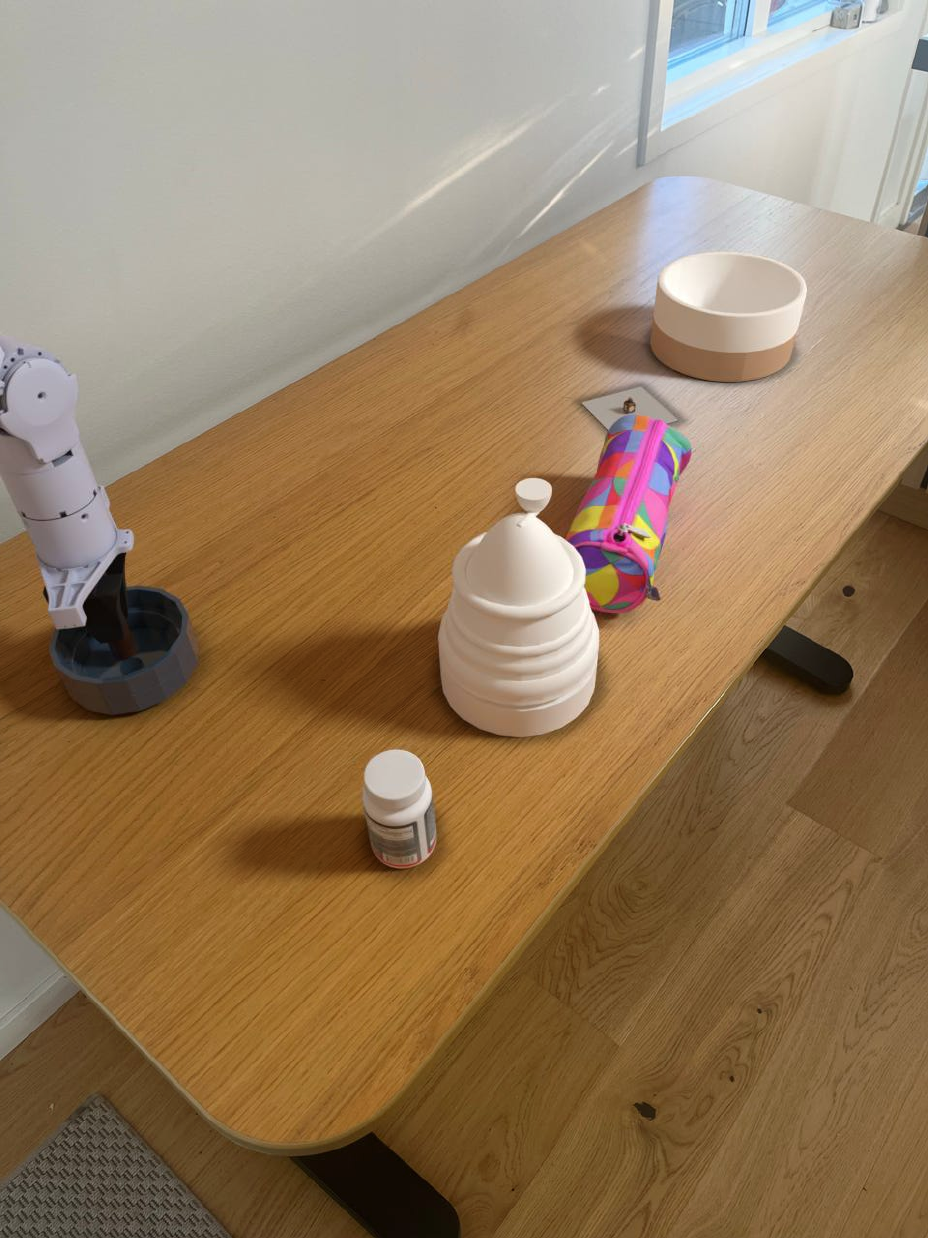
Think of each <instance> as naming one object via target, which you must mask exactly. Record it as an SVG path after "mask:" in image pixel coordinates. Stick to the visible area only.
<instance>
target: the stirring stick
mask: <svg viewBox="0 0 928 1238" xmlns="http://www.w3.org/2000/svg"><path fill="white" fill-rule="evenodd" d="M105 575H107V574H106V571H105V572H104V574H103V575H102V576H105ZM122 614H123V612H122ZM123 619H124V623H125V638H124V640H123V641H117V642H109V643H108V645H109V647H110V650H111V652H112V654H113V656H114V658H116V659H118V660H127V659H129V658H131V657H133V656H134V655H135V654H136V652H137V646H136V644H135V642H134V639H133V637H132V634H131V632H130V629H129V627H128V625H127V622H126V620H125V617H124V615H123Z"/></svg>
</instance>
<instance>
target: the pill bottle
mask: <svg viewBox="0 0 928 1238" xmlns="http://www.w3.org/2000/svg"><path fill="white" fill-rule="evenodd" d="M363 783H364V784H363V788H362V792H361V801H362V809H363V813H364V817H365V821H366V826H367V831H368V837H369V841H370V846H371V849H372V851H373V852H372V853H374V855H375V857H376V858H377V859H378V860H379V861H380V862H381V863H382V864H384V865H386V866H388V867H390V868H394V869H409V868H413V867H416V866H418V865H420V864H421V863H424V861H426V860H427V859H428V858H429V857H430V856H431V854H432V853H433V852H434V849H435V847H436V844H437V838H438V837H437V826H436V825H437V824H436V817H435V816H436V815H435V805H434V797H433V795H434V794H433V789H432V785H431V782H430V780H429V779H428V777H427V776H426V772H425V767H424V764H423V762H422V761H421V759H420V758H419V757H417V756H416V754H414V753H412V752H410V751H407V750H404V749H387V750H385V751H381V752H379V753H377V754H376V755H375V756H373V757H372V758H371V759H370V760H369V761H368V762H367V764H366V766H365V768H364V771H363Z"/></svg>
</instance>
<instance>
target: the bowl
mask: <svg viewBox="0 0 928 1238" xmlns="http://www.w3.org/2000/svg"><path fill="white" fill-rule="evenodd" d="M807 294H808V289H807V283H806V281H805V279H804V278H803V276H802V275H801V274H800V273H799V272H798V271H796V270H795V269H793V268H792V267H790V266H789V265H787V264H785V263H783V262H780V261H778V260H775V259H773V258H769V257H767V256H762V255H758V254H754V253H748V252H747V253H746V252H739V251H708V252H707V251H706V252H699V253H693V254H689V255H685V256H682V257H680V258H676V259H675V260H673V261H671V262H669V263H667V264H666V265H665V266H664V267H663V268H662V269H661V270H660V273H659V274H658V276H657V283H656V290H655V297H654V298H655V299H654V308H653V315H652V316H653V317H652V325H651V335H650V342H649V344H650V347H651V351H652V353H653V355H654V356H655V357H656V358H657V359H658V360H659V361H660V362H661V363H662V364H663V365H664V366H666V367H668V368H669V369H671V370H673V371H675V372H678V373H680V374H682V375H685V376H688V377H692V378H695V379H699V380H705V381H709V382H720V383H721V382H722V383H740V382H750V381H755V380H759V379H763V378H767V377H769V376H771V375H774V374H776V373H778V372H779V371H780V370H782V369H783V368H784V367H785V366H786V365H787V364H788V363H789V361H790V359H791V358H792V357H791V356H792V353H793V350H794V345H795V342H796V337H797V333H798V329H799V326H800V322H801V319H802V315H803V310H804V306H805V302H806V298H807Z"/></svg>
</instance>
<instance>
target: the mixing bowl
mask: <svg viewBox="0 0 928 1238" xmlns="http://www.w3.org/2000/svg"><path fill="white" fill-rule="evenodd" d="M126 589H127V596H128V606H129V612H128V618H127V619H125V620H126V622H127V625H128V627H129V629H130V632H131V634H132V637H133V639H134V642H135V644H136V646H137V652H136V654H135V655H134V656H133V657H131V658H129V659H127V660H118V659H116V658H114V656H113V654H112V652H111V650H110V647H109V645H108V643H101V644H100V643H99V642H98V641H97V640H96V639H95V638H94V637H93V636H92V635H91V634H90V633H89V632H88V631H87V630H86V629H85V628H84V627H83V626H81V627H75V628H67V629H66V628H65V629H56V627H55V628H54V629H52V630H53V631H52V634H51V638H50V642H49V646H48V652H49V656H50V658H51V661H52V664H53V666H54V668H55V671H56V672H57V674H58V676H59V678H60V680H61V682H62V684H63V686H64V688H65V689H66V692H67V694H68V696H69V697H70V699H71V700H72V701H74V702H75V703H77V704H78V705H80V706H81V707H82V708H84V709H85V710H86V711H89V712H94V713H100V714H105V715H109V716H112V715H113V716H114V715H120V714H121V715H122V714H129V713H137V712H141V711H144V710H147V709H148V708H151V707H153V706H156V705H158V704H160V703H163V702H165V701H166V700H168V699H169V698H171V697H172V696H173V695H174V694H175V693H176V692H177V691H179V690H180V689H181V688H183V687H184V686H185V685H186V684H187V683H188V681H189V679H190V678H191V676H192V674H193V673H194V671H195V670H196V668H197V666H198V664H199V654H200V653H199V652H200V645H199V641H198V639H197V636H196V633H195V630H194V627H193V623H192V620H191V618H190V615H189V613H188V611H187V609H186V607H185V606H184V604H183V602H182V600H181V599H180V598H179V597H178V596H176V595H174V594H172V593H170V592H169V591H167V590H165V589H163V588H159V587H152V586H146V585H140V584H139V585H132V586H126Z"/></svg>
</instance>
